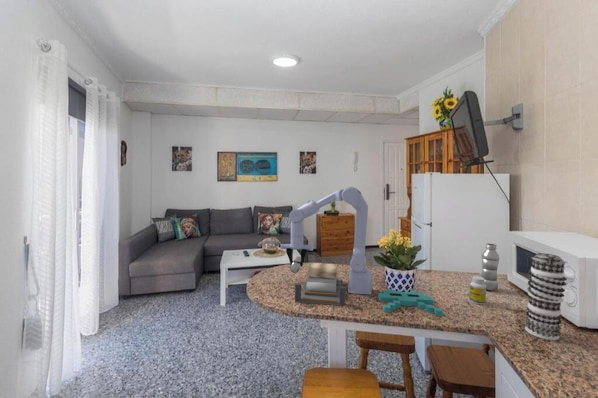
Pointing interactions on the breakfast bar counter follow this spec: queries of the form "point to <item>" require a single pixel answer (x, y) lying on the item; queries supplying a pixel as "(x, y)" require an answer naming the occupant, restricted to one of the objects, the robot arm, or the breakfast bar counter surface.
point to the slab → (323, 270)
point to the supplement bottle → (477, 290)
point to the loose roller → (296, 265)
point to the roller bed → (321, 291)
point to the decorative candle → (545, 296)
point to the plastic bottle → (490, 267)
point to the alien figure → (407, 301)
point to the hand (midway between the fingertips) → (296, 265)
